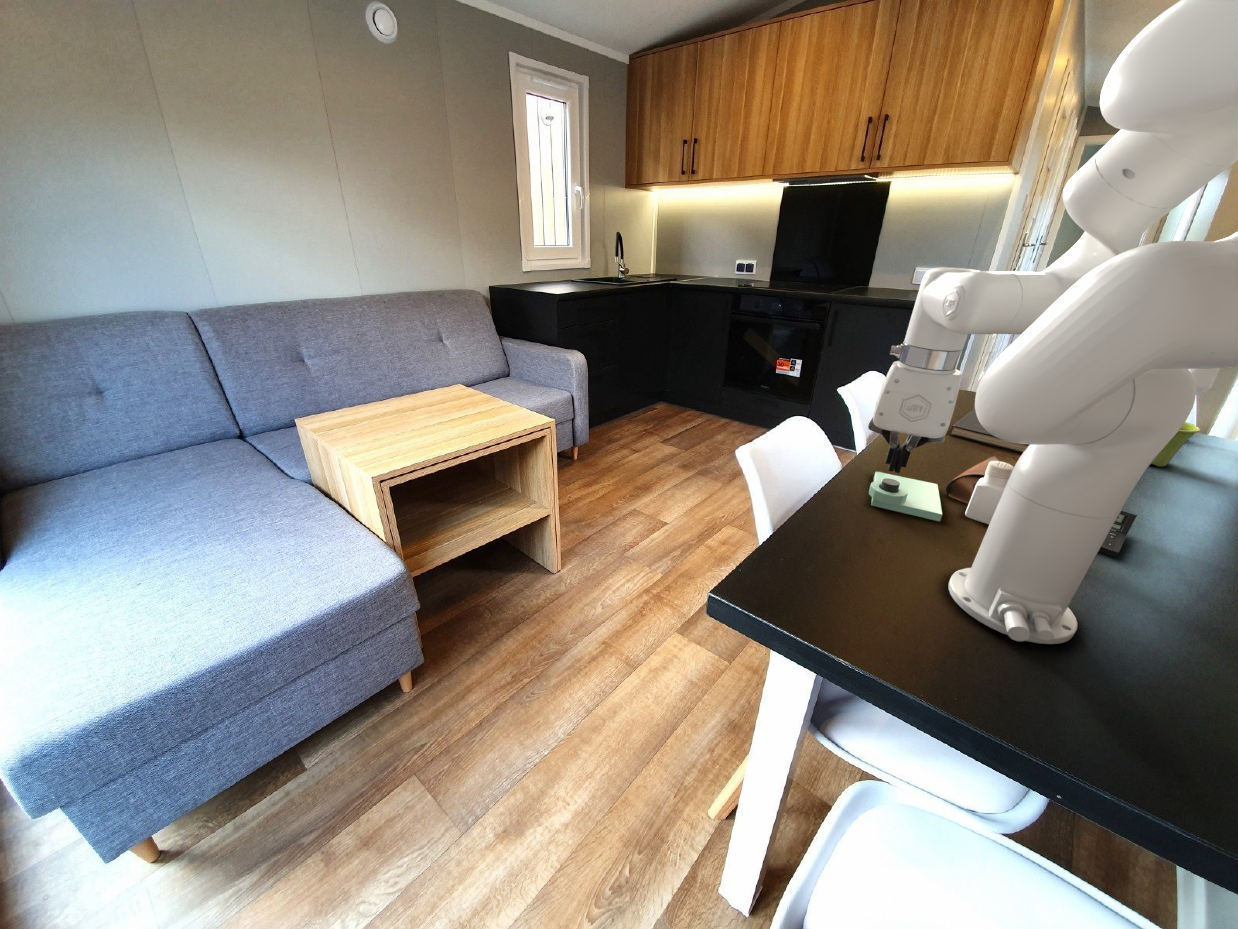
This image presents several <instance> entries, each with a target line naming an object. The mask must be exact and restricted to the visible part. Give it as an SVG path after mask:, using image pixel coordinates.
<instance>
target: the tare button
mask: <svg viewBox="0 0 1238 929" xmlns="http://www.w3.org/2000/svg"><path fill="white" fill-rule="evenodd" d="M899 486H900V483H899V482H898V481H896V480H894V479H889V478H885V479H883V480H882V483H881V487H880V488H881V489H882V490H884V491H886V492H891V493H897V492H898V489H899Z"/></svg>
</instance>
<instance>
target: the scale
mask: <svg viewBox="0 0 1238 929" xmlns="http://www.w3.org/2000/svg"><path fill="white" fill-rule="evenodd" d="M885 478H889V479H894V480H896V481H898V482H899V483H900V486H899V489H898V492H897V493H891V492H886V491H884V490H882V489H881V488H880V487H881V483H882V480H883V479H885ZM868 495H869V496H870V497H871V504H870V506H872V507H875V508H880V509H884V510H890V511H893V512H898V513H901V514H906V515H910V516H915V517H918V518H923V519H927V520H931V521H935V522H941V520H942V518H943V509H942V503H941V497H940V491H939V486H938V483H934V482H930V481H929V482H928V481H925V480H919V479H915V478H909V477H905V476H900V475H897V474H890V473H885V472H882V471H876V470H875V472H874V476H873V481H872V482H871V483H870V486H869V490H868Z"/></svg>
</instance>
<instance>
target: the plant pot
mask: <svg viewBox="0 0 1238 929" xmlns="http://www.w3.org/2000/svg"><path fill="white" fill-rule="evenodd" d="M1199 432H1201V428H1200V427H1199V426H1197V425H1195V424H1192V423H1190V422H1187V421H1185V423H1184V424H1183V425H1182V427H1181V428H1180V429H1179V431H1178V432H1177V433H1176V434H1175V436H1174V437H1173V438H1172V439H1171V440H1170V441H1169V443H1168V444H1167V445H1166V446H1165V447H1164V448H1163V449H1162V450H1161V452H1160V453H1159V454H1158V455H1157V456H1156V457H1155V459H1154V460H1153V461H1152V462H1151V464H1150V465H1154V466H1156V467H1166V466H1167V465H1168V464H1169V463H1170V462H1171V460H1172V459H1173V458H1174V456H1176V454H1177V453H1178V452H1179V450H1180V449H1181V448H1182V447H1183V446H1184V445H1185V443H1186V442H1187V441H1188V440H1190V439H1191V438H1193V436H1194V435H1195V434H1196V433H1197V434H1198V433H1199Z"/></svg>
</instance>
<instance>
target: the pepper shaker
mask: <svg viewBox="0 0 1238 929" xmlns="http://www.w3.org/2000/svg"><path fill="white" fill-rule="evenodd" d="M1013 468H1014V465H1012V464H1011V463H1009V462H1004V461H1000V460H999V461H991V462H989V464H988V467H987V469H986V472H985V476H984V478H981V479H980V480H979V481H978V482H977V484H976V486H975V489H974V491H973V494H972V497H971V499H970V502H969V504H967V507H966V510H965V513H964V514H965V517H966V518H968V519H972V520H974V521H977V522H981V523H982V524H986V525H989V524H990V522H991V520H992V517H993V515H994V512H995V510H996V508H997V505H998V503H999V501H1000V498H1001V496H1002V493H1003V491H1004V489H1005V486H1006V484H1007V482H1008V480H1009V477H1010V475H1011V473H1012V471H1013Z"/></svg>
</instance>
